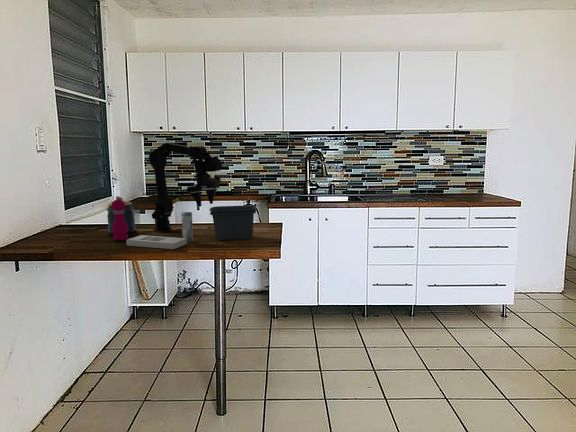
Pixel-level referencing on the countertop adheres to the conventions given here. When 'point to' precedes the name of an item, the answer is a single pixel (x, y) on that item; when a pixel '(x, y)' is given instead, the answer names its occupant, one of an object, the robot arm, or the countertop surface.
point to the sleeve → (187, 226)
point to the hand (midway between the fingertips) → (205, 205)
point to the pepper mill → (119, 220)
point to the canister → (127, 216)
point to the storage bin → (233, 221)
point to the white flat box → (156, 242)
